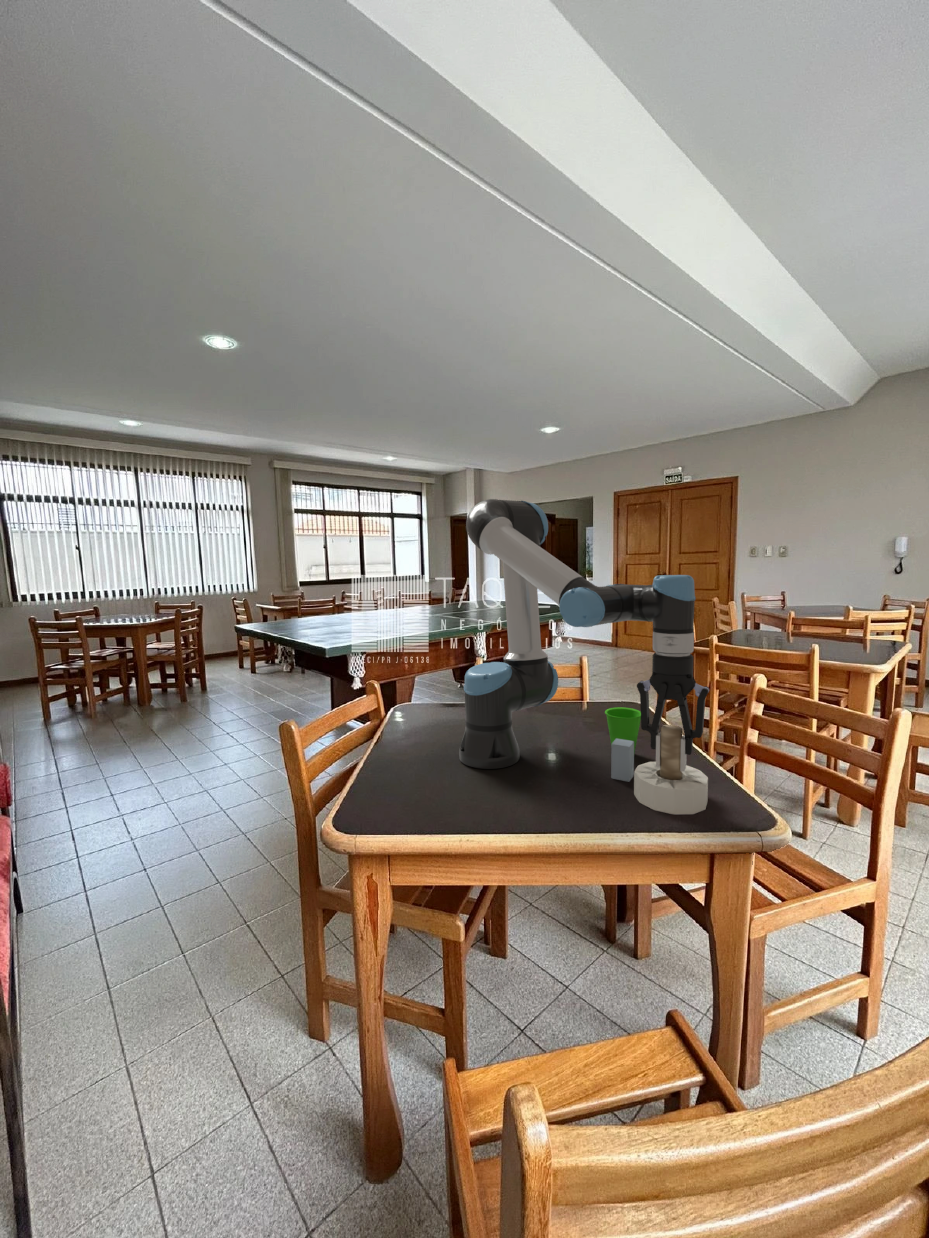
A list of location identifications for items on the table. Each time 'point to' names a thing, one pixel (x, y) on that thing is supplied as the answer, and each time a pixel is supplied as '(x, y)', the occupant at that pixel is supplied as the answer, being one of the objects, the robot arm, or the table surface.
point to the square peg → (622, 760)
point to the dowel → (670, 752)
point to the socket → (671, 790)
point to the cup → (623, 724)
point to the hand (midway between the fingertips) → (670, 766)
